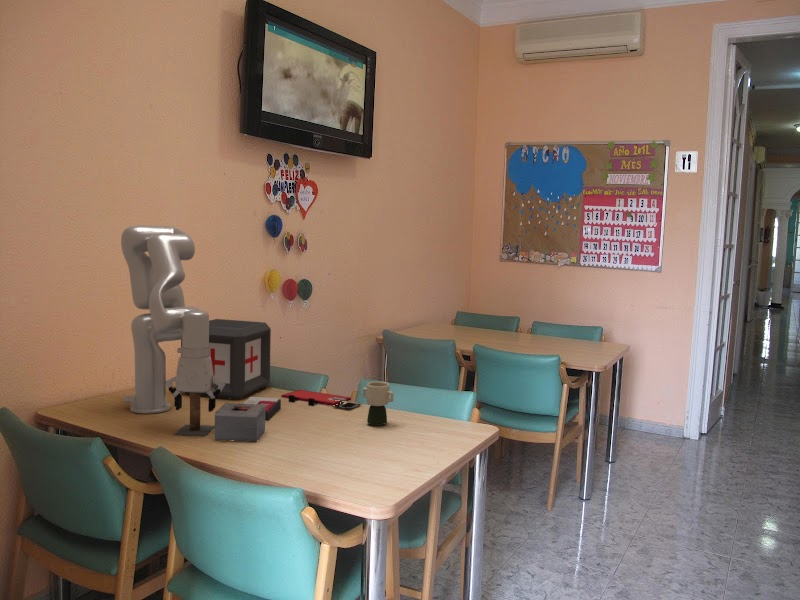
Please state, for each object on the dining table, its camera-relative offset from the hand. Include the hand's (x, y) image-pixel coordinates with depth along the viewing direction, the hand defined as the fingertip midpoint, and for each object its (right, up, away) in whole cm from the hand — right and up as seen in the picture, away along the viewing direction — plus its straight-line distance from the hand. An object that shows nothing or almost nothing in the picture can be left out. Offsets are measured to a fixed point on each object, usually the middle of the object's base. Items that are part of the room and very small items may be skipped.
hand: (195, 409), depth 201 cm
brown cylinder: (0, -6, 0) cm, 6 cm away
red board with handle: (+33, -4, +41) cm, 52 cm away
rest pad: (0, -6, 0) cm, 6 cm away
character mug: (+53, -7, +14) cm, 56 cm away
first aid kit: (-4, -1, +51) cm, 51 cm away
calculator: (+14, -5, +22) cm, 27 cm away
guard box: (+14, -7, -2) cm, 16 cm away
